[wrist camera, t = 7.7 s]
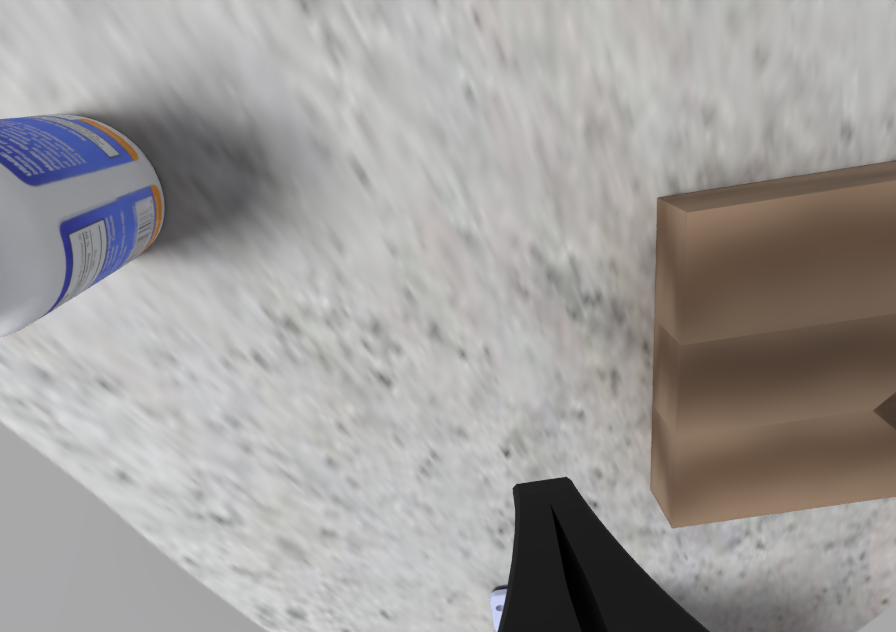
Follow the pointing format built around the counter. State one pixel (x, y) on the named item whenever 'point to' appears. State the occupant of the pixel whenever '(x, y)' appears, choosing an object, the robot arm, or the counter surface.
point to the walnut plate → (775, 346)
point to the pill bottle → (68, 211)
